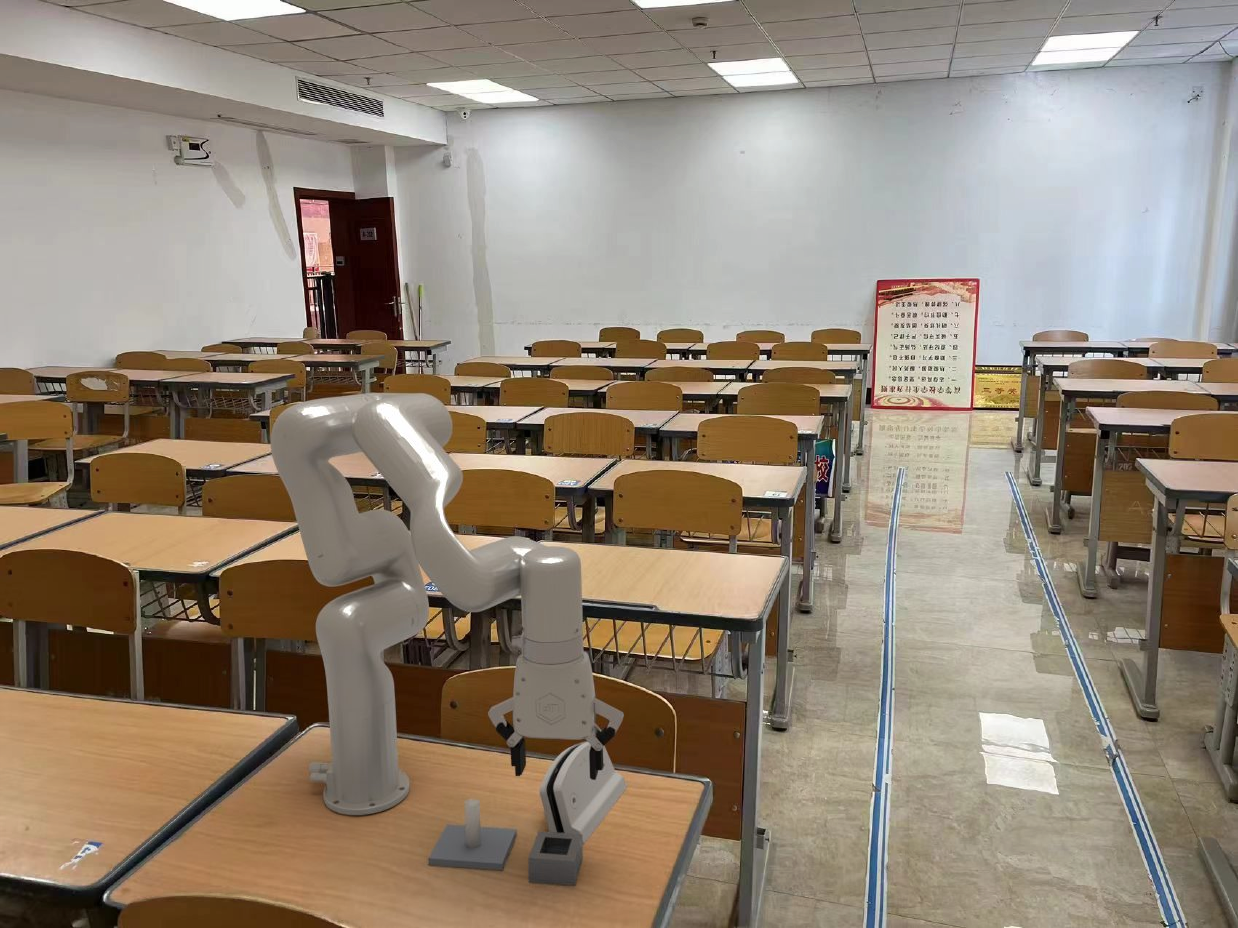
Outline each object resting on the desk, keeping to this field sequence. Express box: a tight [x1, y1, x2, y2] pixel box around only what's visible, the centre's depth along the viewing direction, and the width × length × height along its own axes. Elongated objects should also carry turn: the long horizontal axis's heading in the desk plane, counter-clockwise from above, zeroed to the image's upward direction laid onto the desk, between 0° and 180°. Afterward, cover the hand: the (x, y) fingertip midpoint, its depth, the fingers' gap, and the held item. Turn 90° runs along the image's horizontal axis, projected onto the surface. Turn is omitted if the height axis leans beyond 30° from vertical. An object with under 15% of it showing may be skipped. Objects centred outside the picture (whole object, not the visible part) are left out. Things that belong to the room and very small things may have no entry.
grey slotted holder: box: [539, 741, 628, 845], centre depth 136 cm, size 17×5×10 cm, turn 158°
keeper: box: [428, 798, 518, 872], centre depth 126 cm, size 10×8×7 cm
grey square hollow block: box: [527, 830, 584, 887], centre depth 122 cm, size 6×6×4 cm
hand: (557, 772), depth 120 cm, fingers open, 9 cm apart
